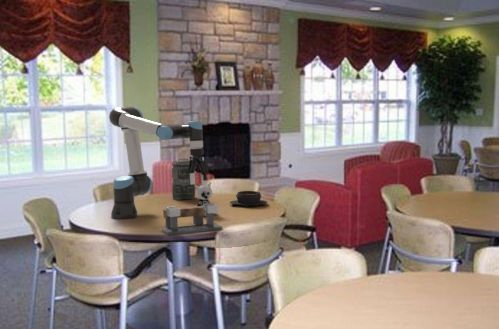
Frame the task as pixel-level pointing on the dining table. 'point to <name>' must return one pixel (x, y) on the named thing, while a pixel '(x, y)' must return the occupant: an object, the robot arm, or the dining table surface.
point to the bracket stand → (174, 228)
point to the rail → (187, 212)
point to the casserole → (248, 198)
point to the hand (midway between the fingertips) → (198, 185)
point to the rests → (196, 220)
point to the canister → (182, 181)
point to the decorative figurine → (203, 194)
